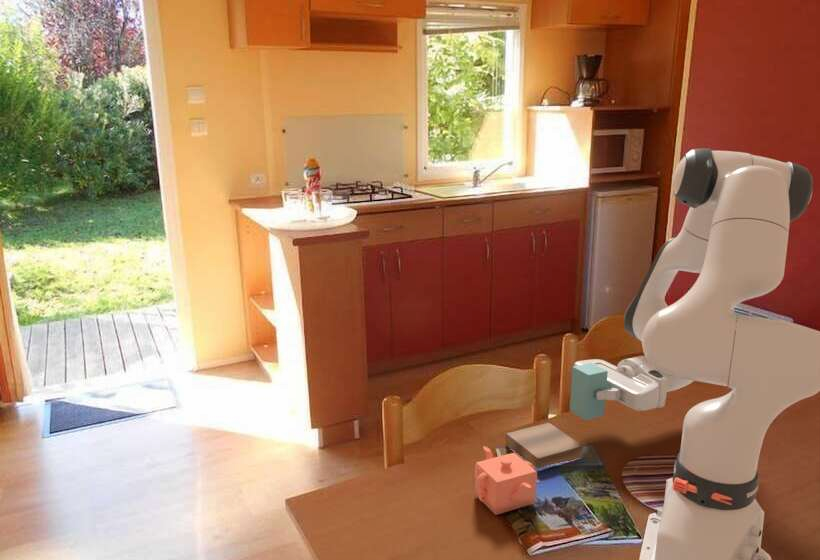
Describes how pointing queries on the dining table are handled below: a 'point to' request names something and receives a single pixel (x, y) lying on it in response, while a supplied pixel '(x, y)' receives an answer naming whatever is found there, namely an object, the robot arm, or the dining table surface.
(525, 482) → the teapot
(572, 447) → the walnut plinth
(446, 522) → the dining table surface
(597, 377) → the teal pillar
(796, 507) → the dining table surface
